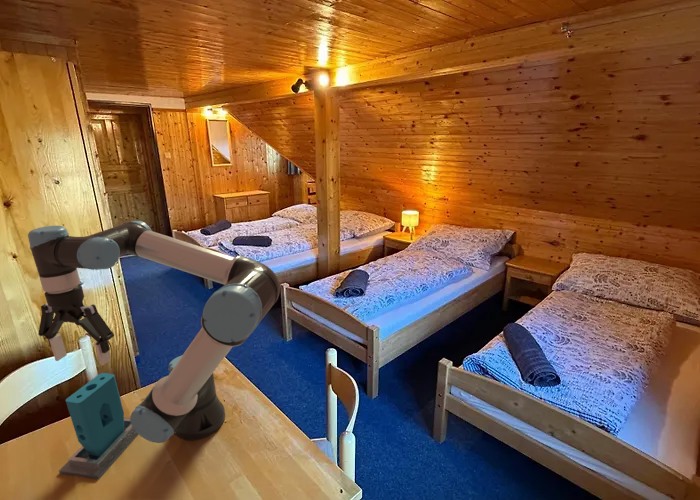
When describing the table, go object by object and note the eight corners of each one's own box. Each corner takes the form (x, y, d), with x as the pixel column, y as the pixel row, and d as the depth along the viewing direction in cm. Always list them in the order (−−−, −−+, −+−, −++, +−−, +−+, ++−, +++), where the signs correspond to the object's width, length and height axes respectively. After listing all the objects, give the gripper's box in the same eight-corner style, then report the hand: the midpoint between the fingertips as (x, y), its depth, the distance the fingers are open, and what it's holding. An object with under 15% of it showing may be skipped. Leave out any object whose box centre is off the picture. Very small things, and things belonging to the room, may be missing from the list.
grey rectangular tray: (148, 422, 117) (146, 415, 117) (98, 479, 99) (96, 470, 98) (114, 418, 119) (112, 411, 118) (59, 473, 101) (56, 465, 100)
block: (97, 462, 103) (79, 403, 96) (82, 459, 104) (63, 400, 97) (129, 429, 114) (116, 374, 107) (115, 426, 115) (101, 372, 108)
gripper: (118, 284, 94) (134, 355, 101) (34, 279, 98) (55, 348, 105) (94, 297, 87) (114, 372, 94) (5, 291, 91) (30, 364, 98)
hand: (83, 360), depth 100 cm, fingers open, 13 cm apart
